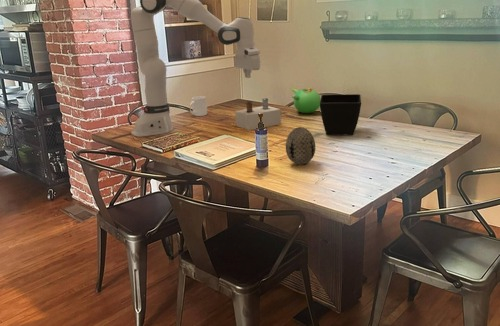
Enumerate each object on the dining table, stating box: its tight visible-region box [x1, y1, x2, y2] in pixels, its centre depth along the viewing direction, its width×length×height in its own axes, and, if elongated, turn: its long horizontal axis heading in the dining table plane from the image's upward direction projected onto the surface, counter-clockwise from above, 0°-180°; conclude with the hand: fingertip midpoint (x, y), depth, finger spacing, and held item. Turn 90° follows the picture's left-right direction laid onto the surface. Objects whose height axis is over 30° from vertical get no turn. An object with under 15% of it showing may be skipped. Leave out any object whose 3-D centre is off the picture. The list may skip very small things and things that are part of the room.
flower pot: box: [319, 93, 362, 136], centre depth 221 cm, size 19×19×17 cm
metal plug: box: [262, 97, 269, 110], centre depth 247 cm, size 3×3×9 cm
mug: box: [189, 95, 208, 117], centre depth 277 cm, size 9×12×11 cm
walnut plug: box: [245, 100, 253, 113], centre depth 242 cm, size 3×3×9 cm
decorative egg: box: [285, 126, 316, 165], centre depth 180 cm, size 12×12×15 cm
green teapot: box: [291, 87, 321, 114], centre depth 266 cm, size 18×17×15 cm
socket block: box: [234, 105, 282, 131], centre depth 246 cm, size 20×14×8 cm
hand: (247, 77), depth 237 cm, fingers closed
